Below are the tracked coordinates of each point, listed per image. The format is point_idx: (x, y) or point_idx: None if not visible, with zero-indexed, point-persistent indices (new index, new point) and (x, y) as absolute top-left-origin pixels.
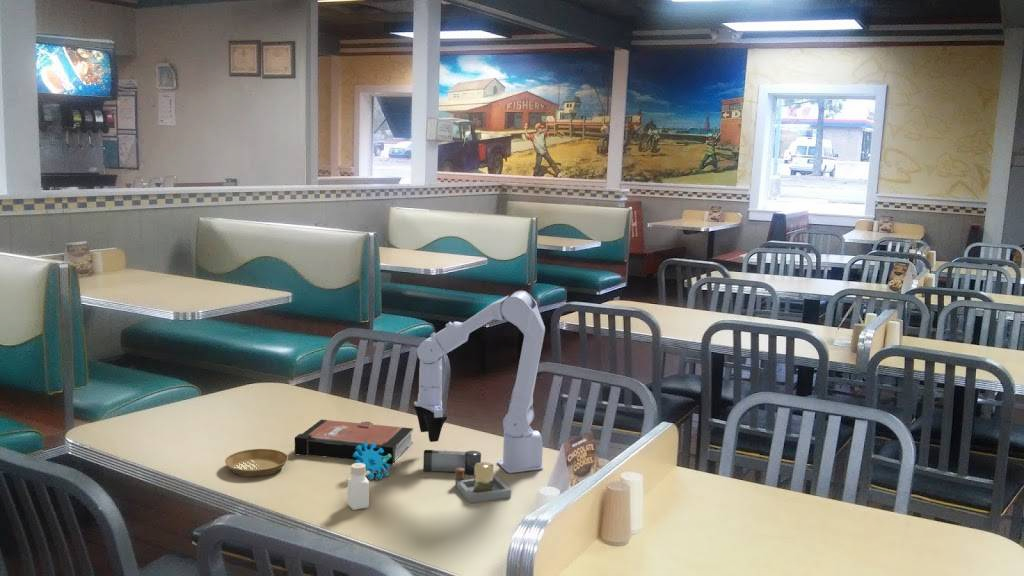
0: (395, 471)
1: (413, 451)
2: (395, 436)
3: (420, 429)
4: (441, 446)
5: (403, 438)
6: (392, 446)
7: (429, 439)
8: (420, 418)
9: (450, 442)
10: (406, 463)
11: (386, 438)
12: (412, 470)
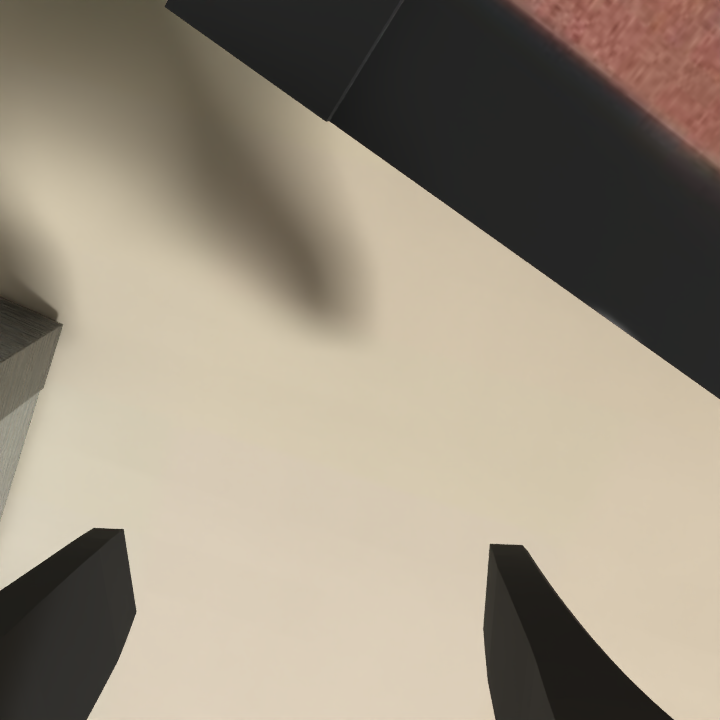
0: (34, 12)
1: (544, 362)
2: (702, 208)
3: (508, 558)
4: None
5: (570, 292)
6: (212, 14)
7: (94, 538)
8: (533, 696)
9: None
10: (237, 196)
11: (676, 42)
12: (38, 199)
